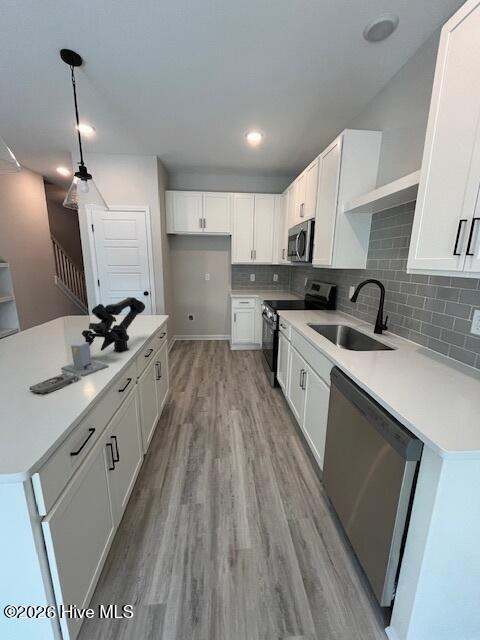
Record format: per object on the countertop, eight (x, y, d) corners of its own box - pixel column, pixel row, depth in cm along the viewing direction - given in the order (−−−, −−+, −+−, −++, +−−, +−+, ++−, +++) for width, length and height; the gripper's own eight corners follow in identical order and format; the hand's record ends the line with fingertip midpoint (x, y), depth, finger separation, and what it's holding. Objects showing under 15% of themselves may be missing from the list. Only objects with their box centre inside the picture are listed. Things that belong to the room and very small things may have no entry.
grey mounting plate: (86, 360, 141) (86, 356, 140) (108, 367, 132) (107, 362, 132) (61, 369, 130) (60, 364, 129) (83, 376, 121) (82, 371, 121)
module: (83, 365, 132) (80, 341, 129) (91, 366, 131) (88, 342, 128) (73, 370, 126) (69, 345, 123) (82, 371, 125) (78, 346, 122)
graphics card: (63, 369, 122) (81, 372, 118) (65, 376, 123) (82, 380, 119) (23, 384, 107) (41, 389, 103) (25, 393, 108) (43, 398, 104)
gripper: (81, 315, 138) (67, 341, 130) (112, 317, 135) (100, 343, 127) (94, 326, 147) (81, 351, 139) (123, 328, 144) (112, 353, 136)
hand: (93, 349), depth 135 cm, fingers open, 9 cm apart
